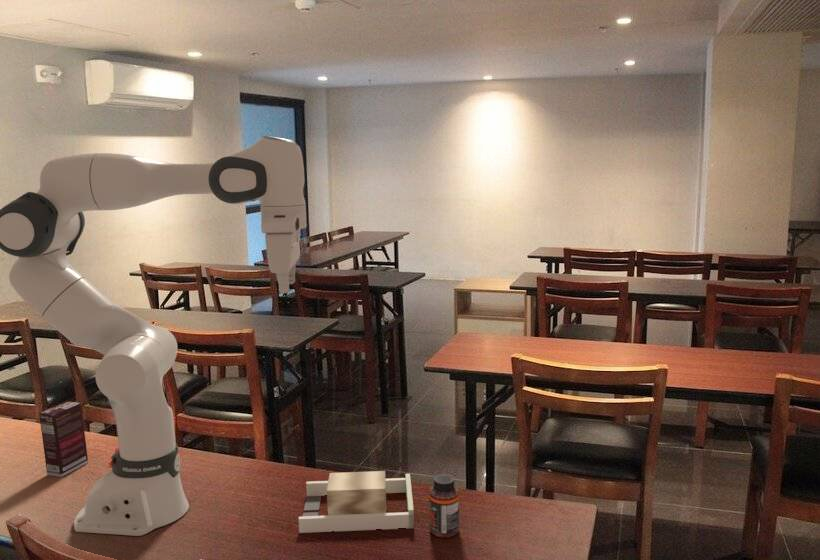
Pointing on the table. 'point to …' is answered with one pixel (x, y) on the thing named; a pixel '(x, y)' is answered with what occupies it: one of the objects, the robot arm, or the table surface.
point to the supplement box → (63, 438)
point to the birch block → (356, 493)
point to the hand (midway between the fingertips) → (287, 287)
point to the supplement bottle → (444, 507)
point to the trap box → (355, 521)
